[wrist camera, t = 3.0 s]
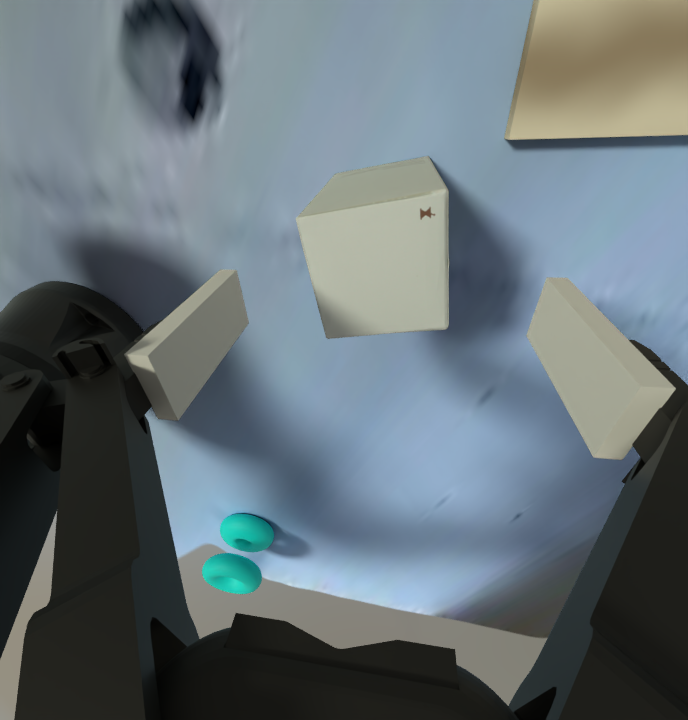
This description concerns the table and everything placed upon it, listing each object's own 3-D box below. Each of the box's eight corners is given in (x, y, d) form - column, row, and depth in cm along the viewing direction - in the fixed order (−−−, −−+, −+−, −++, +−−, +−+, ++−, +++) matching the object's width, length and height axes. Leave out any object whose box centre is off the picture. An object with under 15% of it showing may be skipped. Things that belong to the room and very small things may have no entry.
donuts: (237, 570, 51) (269, 597, 56) (259, 508, 59) (284, 536, 64) (186, 571, 54) (220, 596, 59) (213, 512, 62) (241, 538, 67)
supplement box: (332, 171, 26) (290, 211, 16) (431, 154, 24) (455, 185, 14) (347, 264, 30) (323, 341, 20) (432, 253, 28) (452, 332, 18)
